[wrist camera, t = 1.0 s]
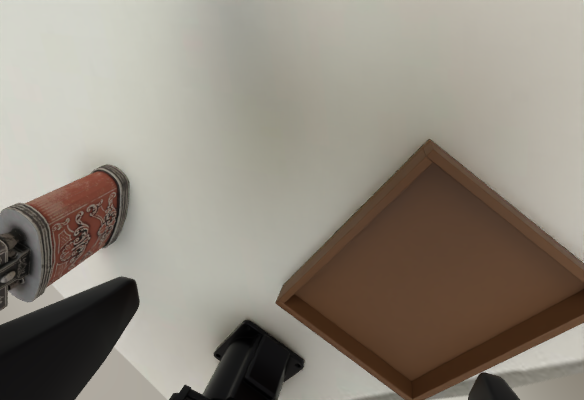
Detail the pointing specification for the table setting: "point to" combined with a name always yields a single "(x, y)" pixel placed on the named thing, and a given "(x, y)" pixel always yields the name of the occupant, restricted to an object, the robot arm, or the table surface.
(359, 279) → the tray
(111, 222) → the lighter
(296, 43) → the table surface
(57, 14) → the table surface
